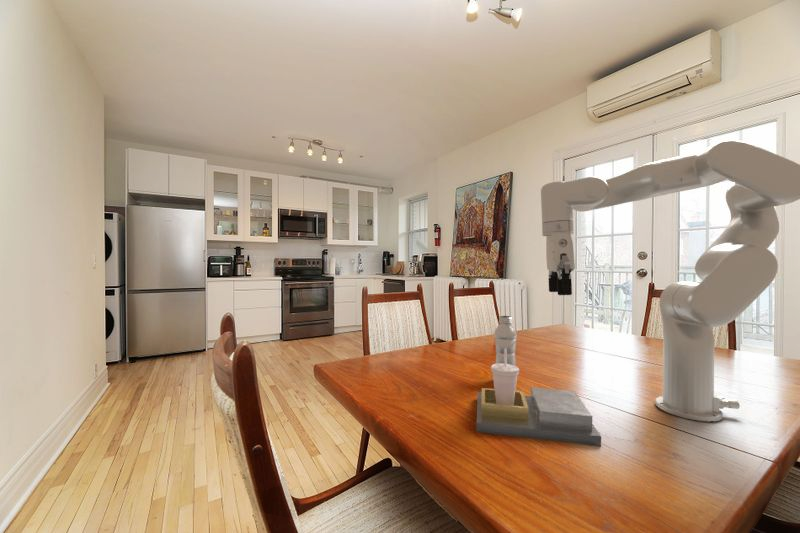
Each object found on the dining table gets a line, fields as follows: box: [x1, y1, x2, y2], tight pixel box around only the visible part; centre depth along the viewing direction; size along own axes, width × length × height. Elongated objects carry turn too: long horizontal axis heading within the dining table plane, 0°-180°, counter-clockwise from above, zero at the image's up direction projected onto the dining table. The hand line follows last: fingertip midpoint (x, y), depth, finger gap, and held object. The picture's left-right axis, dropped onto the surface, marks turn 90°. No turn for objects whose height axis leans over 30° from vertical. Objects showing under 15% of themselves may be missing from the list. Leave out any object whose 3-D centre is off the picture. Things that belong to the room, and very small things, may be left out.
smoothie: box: [490, 348, 520, 406], centre depth 79 cm, size 6×6×14 cm
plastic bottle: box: [493, 315, 518, 366], centre depth 102 cm, size 6×7×20 cm
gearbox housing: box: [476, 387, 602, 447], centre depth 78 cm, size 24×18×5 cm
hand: (559, 293), depth 90 cm, fingers open, 9 cm apart
